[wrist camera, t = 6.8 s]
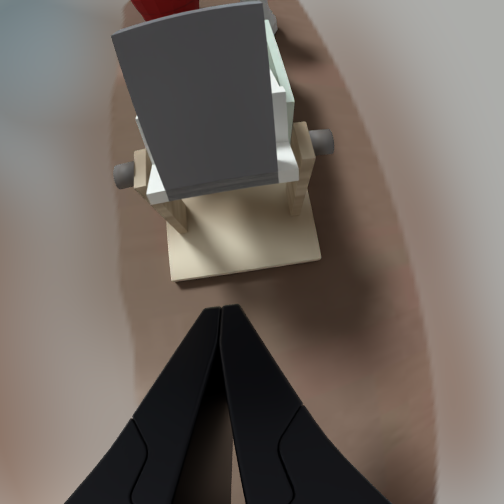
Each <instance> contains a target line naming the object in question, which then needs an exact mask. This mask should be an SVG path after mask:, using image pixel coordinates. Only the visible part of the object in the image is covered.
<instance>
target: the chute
mask: <svg viewBox="0 0 504 504" xmlns="http://www.w3.org/2000/svg"><path fill="white" fill-rule="evenodd" d="M111 38H112V41H113V44H114V47H115V51H116V54H117V57H118V60H119V63H120V66H121V69H122V73H123V76H124V79H125V82H126V85H127V88H128V91H129V94H130V97H131V99H132V102H133V105H134V108H135V111H136V114H137V117H136V122H137V125H138V128H139V130H140V133H141V136H142V139H143V141H144V144H145V147H146V149H147V152H148V155H149V157H150V160H151V162H152V168H151V173H150V178H149V183H148V188H147V193H146V195H147V197H148V200H149V202H150V204H151V205H154V204H159V203H164V202H169V201H174V200H180V199H185V198H190V197H196V196H201V195H207V194H213V193H219V192H225V191H231V190H237V189H243V188H250V187H256V186H263V185H270V184H277V183H284V182H292V181H299V168H298V165H297V163H296V160H295V157H294V154H293V152H292V149H291V146H290V144H289V140H288V120H287V103H286V91H285V89H284V87H283V86H279V85H278V83H277V81H276V79H275V77H274V75H273V73H272V71H271V69H270V67H269V57H268V47H267V38H266V28H265V19H264V10H263V3H262V2H260V1H249V2H240V3H232V4H225V5H219V6H213V7H207V8H201V9H196V10H191V11H187V12H182V13H178V14H173V15H169V16H165V17H161V18H157V19H154V20H150V21H147V22H143V23H140V24H137V25H133V26H130V27H127V28H124V29H121V30H118V31H117V32H115V33H114V34H113V35H112V36H111Z"/></svg>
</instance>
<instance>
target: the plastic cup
mask: <svg viewBox="0 0 504 504" xmlns="http://www.w3.org/2000/svg"><path fill="white" fill-rule="evenodd" d="M131 2H132V3H133V5H134V6H135V8H136V9H137V10H138V11H139V12H140V13H141V15H142V16H143V18H144V20H145V21H146V22H147V21H150V20H154V19H157V18H161V17H165V16H169V15H173V14H178V13H182V12H187V11H191V10H196V9H199V0H131Z"/></svg>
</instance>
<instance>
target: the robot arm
mask: <svg viewBox="0 0 504 504" xmlns="http://www.w3.org/2000/svg"><path fill="white" fill-rule="evenodd" d="M132 417H133V419H130V420H129V422H128V423H127V425H126V426H125V428H124V429H123V431H122V432H121V433H120V435H119V437H118V438H117V439H116V441H115V442H114V443H113V445H112V446H111V448H110V449H109V450H108V452H107V453H106V454H105V455H104V457H103V458H102V459H101V460H100V462H99V463H98V464H97V466H96V467H95V468H94V469H93V470H92V472H91V473H90V474H89V475H88V476H87V477H86V479H85V480H84V481H83V482H82V483H81V484H80V486H79V487H78V488H77V489H76V490H75V491H74V493H73V494H72V495H71V496H70V497H69V498H68V500H67V501H66V502H65V503H64V504H231V478H232V447H233V439H234V445H235V451H236V456H237V461H238V467H239V472H240V477H241V482H242V487H243V493H244V497H245V502H246V504H392V503H391V502H390V501H389V500H388V499H386V498H385V497H384V496H383V495H382V494H381V493H380V492H379V491H378V490H377V489H376V488H375V487H374V486H373V485H372V484H371V483H370V482H369V481H368V480H367V479H366V478H365V477H364V476H363V475H362V474H361V473H360V472H359V471H358V470H357V469H356V468H355V467H354V466H353V465H352V464H351V463H350V462H349V461H348V460H347V459H346V458H345V457H344V456H343V455H342V454H341V452H340V451H339V450H338V449H337V448H336V447H335V446H334V444H333V443H332V442H331V441H330V440H329V439H328V438H327V436H326V435H325V434H324V432H323V431H322V430H321V428H320V427H319V425H318V424H317V423H316V421H315V420H314V419H313V417H312V416H311V414H310V413H309V411H308V410H307V408H306V407H305V406H304V405H303V403H302V401H301V400H300V398H299V397H298V395H297V394H296V392H295V391H294V389H293V388H292V386H291V385H290V383H289V382H288V380H287V378H286V377H285V375H284V374H283V372H282V371H281V369H280V368H279V366H278V365H277V363H276V362H275V360H274V358H273V357H272V355H271V354H270V352H269V351H268V349H267V348H266V346H265V344H264V343H263V341H262V340H261V338H260V337H259V335H258V333H257V332H256V330H255V329H254V327H253V325H252V324H251V322H250V321H249V319H248V317H247V316H246V314H245V313H244V311H243V309H242V308H241V306H240V305H239V304H231V305H225V306H223V307H222V308H221V307H220V306H217V307H209V308H205V309H204V310H203V311H202V312H201V314H200V315H199V317H198V318H197V320H196V321H195V323H194V324H193V326H192V327H191V329H190V330H189V332H188V333H187V335H186V336H185V338H184V339H183V341H182V342H181V344H180V345H179V347H178V348H177V350H176V351H175V353H174V354H173V356H172V357H171V359H170V360H169V362H168V363H167V365H166V366H165V368H164V369H163V371H162V372H161V374H160V375H159V377H158V378H157V380H156V381H155V383H154V384H153V386H152V387H151V389H150V390H149V392H148V393H147V395H146V396H145V398H144V399H143V401H142V402H141V404H140V405H139V407H138V408H137V410H136V411H135V413H134V414H133V416H132Z"/></svg>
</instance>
